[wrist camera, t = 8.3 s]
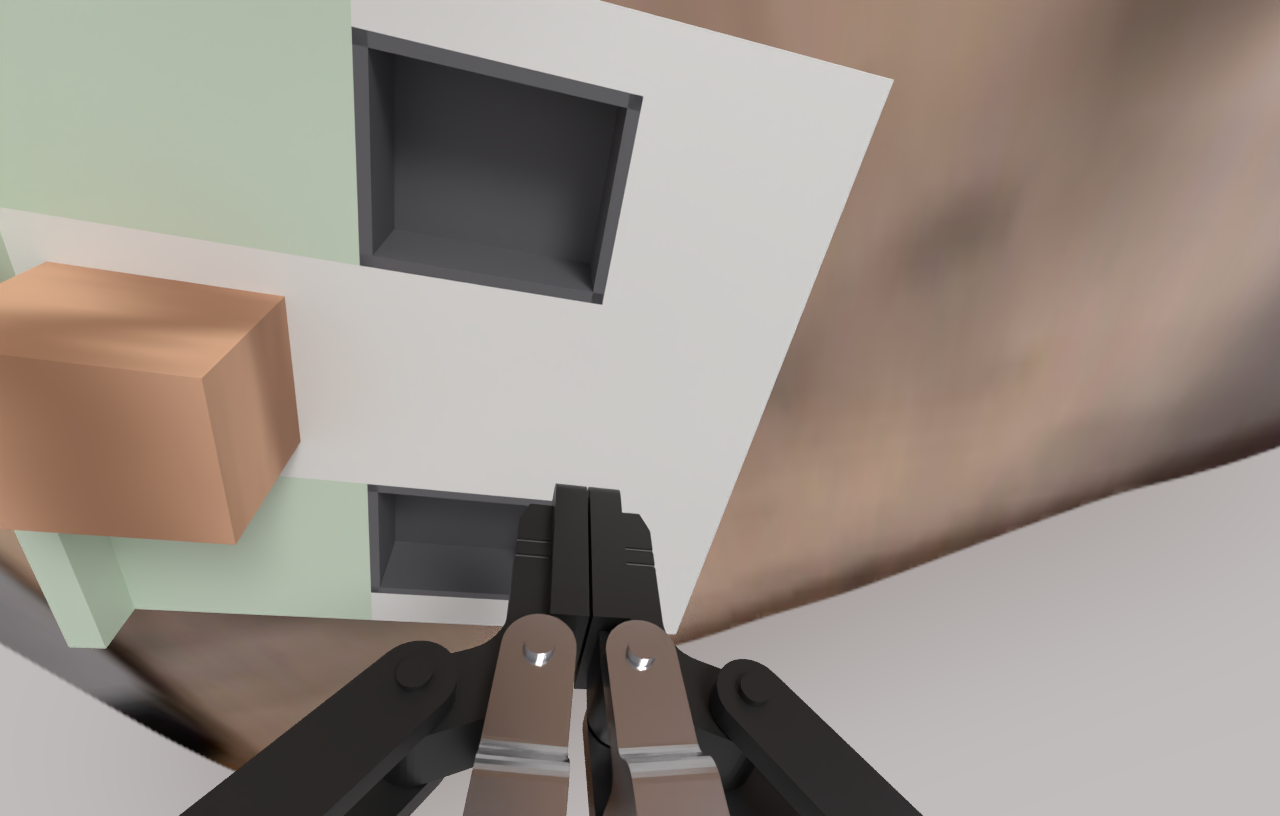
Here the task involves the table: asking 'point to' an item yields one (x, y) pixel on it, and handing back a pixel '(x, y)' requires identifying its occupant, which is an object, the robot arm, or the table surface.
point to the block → (140, 404)
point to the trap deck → (435, 269)
